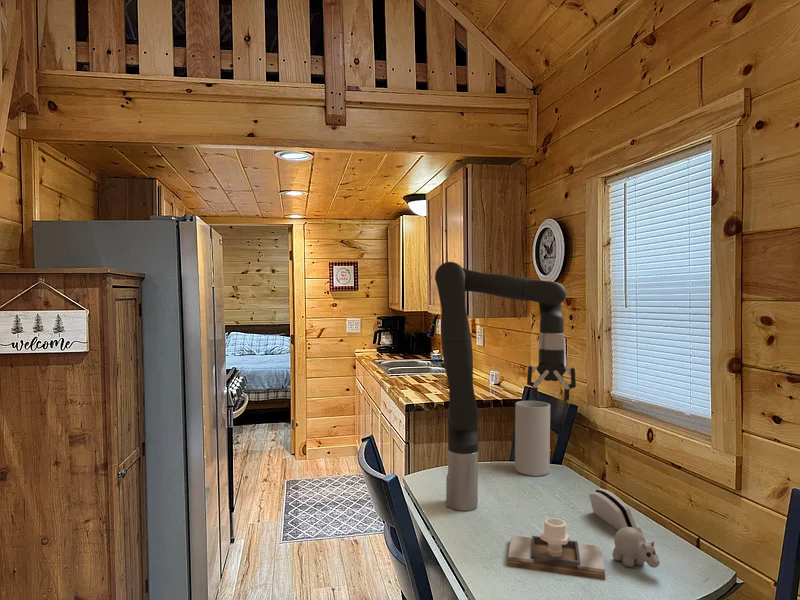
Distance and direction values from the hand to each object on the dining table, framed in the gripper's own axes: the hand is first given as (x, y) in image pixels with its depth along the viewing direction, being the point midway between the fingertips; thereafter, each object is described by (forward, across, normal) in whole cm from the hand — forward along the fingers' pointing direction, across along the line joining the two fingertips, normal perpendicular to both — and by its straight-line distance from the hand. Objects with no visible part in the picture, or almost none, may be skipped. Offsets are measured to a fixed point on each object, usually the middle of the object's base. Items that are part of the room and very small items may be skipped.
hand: (550, 400), depth 164 cm
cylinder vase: (+33, -6, +35) cm, 49 cm away
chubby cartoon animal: (+33, +20, -31) cm, 50 cm away
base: (+33, +1, -32) cm, 46 cm away
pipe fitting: (+32, +1, -32) cm, 45 cm away
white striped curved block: (+34, +17, -6) cm, 38 cm away
